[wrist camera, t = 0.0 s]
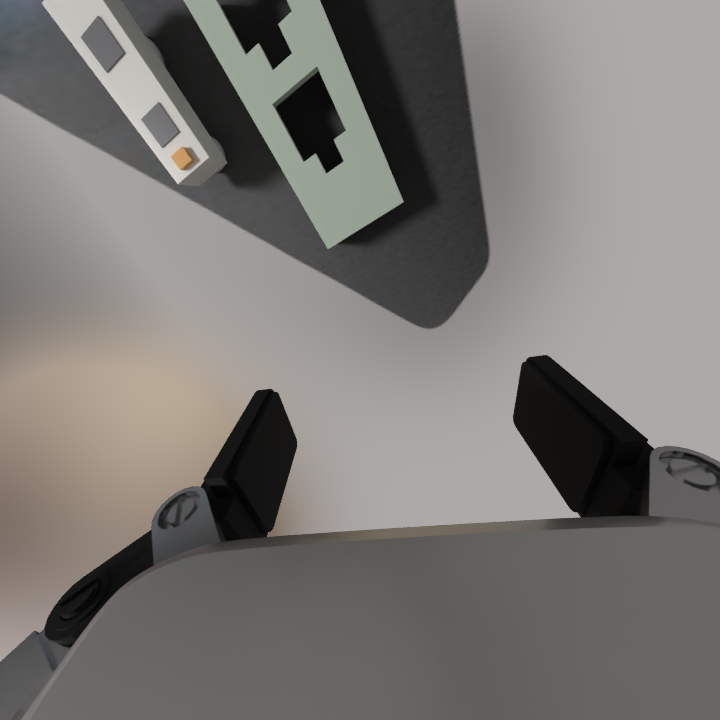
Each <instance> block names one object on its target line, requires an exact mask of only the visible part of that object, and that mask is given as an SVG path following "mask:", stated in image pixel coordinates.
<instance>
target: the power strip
mask: <svg viewBox="0 0 720 720" xmlns="http://www.w3.org/2000/svg"><path fill="white" fill-rule="evenodd" d="M42 4H43V6H44V7H45V8H46V10H47V11H48V12H49V14H50V15H51V16H52V18H53V19H54V20H55V22H56V23H57V24H58V26H59V27H60V28H61V30H62V31H63V32H64V34H65V35H66V36H67V38H68V39H69V40H70V42H71V43H72V44H73V46H74V47H75V48H76V49H77V51H78V52H79V53H80V55H81V56H82V57H83V59H84V60H85V61H86V63H87V64H88V65H89V67H90V68H91V69H92V71H93V72H94V73H95V75H96V76H97V77H98V79H99V80H100V81H101V83H102V84H103V85H104V87H105V88H106V89H107V91H108V92H109V93H110V95H111V96H112V97H113V99H114V100H115V101H116V103H117V104H118V105H119V107H120V108H121V109H122V111H123V112H124V113H125V115H126V116H127V117H128V119H129V120H130V121H131V123H132V124H133V125H134V127H135V128H136V129H137V131H138V132H139V133H140V135H141V136H142V137H143V139H144V140H145V141H146V142H147V144H148V145H149V146H150V148H151V149H152V150H153V152H154V153H155V154H156V156H157V157H158V158H159V160H160V161H161V162H162V164H163V165H164V166H165V168H166V169H167V170H168V172H169V173H170V174H171V176H172V177H173V178H174V180H175V181H176V182H177V184H182V185H191V186H200V185H201V184H202V183H204V182H205V181H206V180H207V179H208V178H210V177H211V176H212V175H213V174H215V173H219V172H220V171H222V170H223V168H224V166H225V164H227V163H228V162H227V161H226V156H225V152H224V149H223V147H222V146H221V144H220V143H219V142H218V141H217V140H216V139H215V138H213V137H211V136H210V135H209V133H208V132H207V130H206V129H205V127H204V126H203V124H202V123H201V121H200V120H199V118H198V117H197V115H196V114H195V112H194V111H193V109H192V107H191V106H190V104H189V103H188V101H187V100H186V98H185V97H184V95H183V94H182V92H181V91H180V89H179V88H178V86H177V85H176V83H175V81H174V80H173V78H172V77H171V75H170V74H169V72H168V71H167V69H166V66H165V61H164V58H163V55H162V53H161V52H160V50H159V48H158V47H157V46H156V45H155V43H153V42H152V41H151V40H150V39H148V38H147V37H146V36H144V34H143V33H142V31H141V29H140V28H139V26H138V25H137V23H136V22H135V20H134V19H133V17H132V16H131V14H130V13H129V11H128V10H127V8H126V7H125V5H124V3H123V2H122V0H44V1H43V3H42Z"/></svg>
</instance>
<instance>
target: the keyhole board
mask: <svg viewBox="0 0 720 720" xmlns="http://www.w3.org/2000/svg"><path fill="white" fill-rule="evenodd" d="M184 2H185V3H186V5H187V7H188V8H189V10H190V12H191V14H192V15H193V17H194V19H195V21H196V22H197V24H198V26H199V27H200V29H201V31H202V33H203V34H204V36H205V38H206V40H207V41H208V43H209V45H210V46H211V48H212V50H213V52H214V53H215V55H216V57H217V59H218V60H219V62H220V64H221V65H222V67H223V69H224V71H225V72H226V74H227V76H228V78H229V79H230V81H231V83H232V84H233V86H234V88H235V90H236V91H237V93H238V95H239V97H240V98H241V100H242V102H243V103H244V105H245V107H246V109H247V110H248V112H249V114H250V116H251V117H252V119H253V121H254V122H255V124H256V126H257V128H258V129H259V131H260V133H261V135H262V136H263V138H264V140H265V141H266V143H267V145H268V147H269V148H270V150H271V152H272V154H273V155H274V157H275V159H276V160H277V162H278V164H279V166H280V167H281V169H282V171H283V173H284V174H285V176H286V178H287V179H288V181H289V183H290V185H291V186H292V188H293V190H294V192H295V193H296V195H297V197H298V198H299V200H300V202H301V204H302V205H303V207H304V209H305V211H306V212H307V214H308V216H309V217H310V219H311V221H312V223H313V224H314V226H315V228H316V230H317V231H318V233H319V235H320V236H321V238H322V240H323V242H324V243H325V245H326V247H327V249H329V248H331V247H332V246H334V245H336V244H337V243H339V242H340V241H342V240H344V239H345V238H347V237H349V236H350V235H352V234H353V233H355V232H357V231H358V230H360V229H361V228H363V227H365V226H366V225H368V224H369V223H371V222H373V221H374V220H376V219H377V218H379V217H381V216H382V215H384V214H385V213H387V212H389V211H390V210H392V209H393V208H395V207H397V206H398V205H400V204H401V203H403V202H404V201H403V199H402V197H401V194H400V192H399V189H398V187H397V185H396V182H395V180H394V177H393V175H392V173H391V170H390V168H389V165H388V163H387V160H386V158H385V156H384V153H383V151H382V148H381V146H380V144H379V141H378V139H377V136H376V134H375V132H374V129H373V127H372V124H371V122H370V120H369V117H368V115H367V112H366V110H365V107H364V105H363V103H362V100H361V98H360V95H359V93H358V91H357V88H356V86H355V83H354V81H353V79H352V76H351V74H350V71H349V69H348V67H347V64H346V62H345V59H344V57H343V54H342V52H341V50H340V47H339V45H338V42H337V40H336V38H335V35H334V33H333V30H332V28H331V26H330V23H329V21H328V18H327V16H326V14H325V11H324V9H323V6H322V4H321V1H320V0H287V2H288V4H289V7H290V9H291V11H292V12H291V13H289V14H288V15H287V16H286V17H285V18H284V19H283V20H282V21H281V22H280V23H279V24H278V25H279V27H280V29H281V31H282V33H283V36H284V38H285V40H286V42H287V44H288V46H289V48H290V50H291V52H292V54H291V55H289V56H288V57H287V58H286V59H285V60H284V61H283V62H282V63H280V64H279V65H278V66H277V67H276V68H275V69H274V70H273V68H272V66H271V64H270V62H269V60H268V58H267V56H266V55H265V53H264V51H263V49H262V47H261V46H260V44H259V43H258V44H257V45H256V46H255V47H254V48H253V49H252V50H250V51H249V52H248V53H247V54H246V52H245V50H244V48H243V46H242V44H241V42H240V41H239V39H238V37H237V35H236V33H235V31H234V29H233V28H232V26H231V24H230V22H229V20H228V18H227V16H226V15H225V13H224V11H223V9H222V7H221V5H220V3H219V2H218V0H184ZM318 71H319V72H320V75H321V77H322V79H323V81H324V83H325V86H326V88H327V90H328V92H329V94H330V97H331V99H332V101H333V103H334V105H335V108H336V110H337V112H338V114H339V116H340V119H341V121H342V123H343V125H344V127H345V130H346V131H345V132H343V133H342V134H341V135H339V136H338V137H337V138H335V139H334V142H335V144H336V146H337V148H338V150H339V152H340V154H341V157H342V159H343V162H342V163H341V164H339V165H338V166H336V167H335V168H334V169H332V170H331V171H329V172H328V173H326V171H325V169H324V167H323V165H322V163H321V161H320V160H319V158H318V156H317V154H316V153H315V154H314V155H313V156H311V157H310V158H309V159H307V160H306V161H304V160H303V158H302V156H301V154H300V152H299V150H298V148H297V147H296V145H295V143H294V141H293V139H292V137H291V135H290V134H289V132H288V130H287V128H286V126H285V124H284V122H283V121H282V119H281V117H280V115H279V113H278V111H277V109H276V108H275V107H277V106H278V105H279V104H280V103H281V102H282V101H284V100H285V99H286V98H287V97H288V96H290V95H291V94H292V93H293V92H294V91H295V90H297V89H298V88H299V87H300V86H301V85H303V84H304V83H305V82H306V81H307V80H308V79H310V78H311V77H312V76H313V75H314V74H316V73H317V72H318Z"/></svg>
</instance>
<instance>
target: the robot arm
mask: <svg viewBox="0 0 720 720" xmlns="http://www.w3.org/2000/svg"><path fill="white" fill-rule="evenodd" d="M513 420H514V424H515V426H516V428H517V430H518V431H519V432H520V434H521V436H522V437H523V438H524V440H525V442H526V443H527V445H528V446H529V448H530V449H531V451H532V452H533V454H534V455H535V456H536V458H537V460H538V461H539V463H540V464H541V466H542V467H543V469H544V470H545V471H546V473H547V474H548V476H549V478H550V479H551V481H552V482H553V484H554V485H555V487H556V488H557V490H558V491H559V493H560V494H561V496H562V497H563V499H564V500H565V502H566V503H567V505H568V506H569V508H570V509H571V510H572V511H573V512H578V514H579V515H580V517H581V518H560V519H542V520H525V521H508V522H490V523H472V524H456V525H439V526H423V527H407V528H391V529H376V530H362V531H361V530H360V531H347V532H332V533H331V532H330V533H316V534H301V535H288V536H276V537H267V534H268V532H271V531H272V529H273V527H274V524H275V520H276V517H277V514H278V510H279V506H280V503H281V500H282V496H283V493H284V489H285V486H286V483H287V479H288V476H289V473H290V469H291V466H292V462H293V459H294V455H295V452H296V449H297V439H296V437H295V434H294V432H293V429H292V427H291V424H290V421H289V419H288V416H287V414H286V412H285V409H284V406H283V404H282V401H281V399H280V396H279V394H278V393H277V392H274V391H273V390H272V389H266V390H258V391H256V392H255V394H254V396H253V397H252V399H251V401H250V402H249V404H248V406H247V407H246V409H245V411H244V412H243V414H242V416H241V417H240V419H239V421H238V422H237V424H236V426H235V427H234V429H233V431H232V432H231V434H230V436H229V437H228V439H227V441H226V442H225V444H224V446H223V448H222V449H221V451H220V453H219V454H218V456H217V458H216V459H215V461H214V462H213V464H212V466H211V467H210V469H209V471H208V472H207V474H206V476H205V478H204V482H203V484H202V486H201V487H189V488H185V489H183V490H181V491H179V492H177V493H175V494H174V495H173V496H171V497H170V498H169V499H168V500H166V501H165V502H164V503H163V504H162V505H161V507H160V508H159V509H158V511H157V512H156V514H155V516H154V518H153V520H152V526H151V528H152V529H151V530H150V531H149V532H147V533H146V534H145V535H143V536H142V537H140V538H139V539H137V540H136V541H135V542H133V543H132V544H130V545H129V546H127V547H126V548H124V549H123V550H122V551H120V552H119V553H118V554H116V555H114V556H113V557H112V558H110V559H109V560H107V561H106V562H104V563H103V564H101V565H100V566H99V567H97V568H96V569H94V570H93V571H91V572H90V573H89V574H87V575H86V576H84V577H83V578H82V579H80V580H79V581H78V582H77V583H75V584H74V585H73V586H72V587H71V588H70V589H69V590H68V591H67V592H66V593H65V594H64V595H63V596H62V597H61V599H60V600H59V601H58V603H57V604H56V605H55V606H54V608H53V610H52V611H51V613H50V615H49V617H48V619H47V622H46V625H45V628H44V630H42V632H40V633H39V632H37V631H34V632H33V633H31V634H30V635H29V636H28V637H27V638H26V639H25V640H24V641H23V642H22V643H20V644H19V645H18V646H17V647H16V648H15V649H14V650H13V651H12V652H11V653H10V654H9V655H7V656H6V657H5V658H4V659H3V660H2V661H1V662H0V720H720V462H719V461H717V460H715V459H713V458H711V457H709V456H707V455H704V454H702V453H699V452H696V451H693V450H690V449H686V448H681V447H674V446H664V447H658V448H656V449H654V448H653V447H651V446H650V445H649V444H648V443H647V441H648V439H647V438H646V437H644V436H643V435H642V434H641V433H640V432H638V431H637V430H636V429H635V428H634V427H632V426H631V425H630V424H629V423H627V421H625V420H624V419H623V418H622V417H621V416H619V415H618V414H617V413H616V412H615V411H613V410H612V409H611V408H610V407H609V406H607V405H606V404H605V403H604V402H603V401H602V400H600V399H599V398H598V397H597V396H596V395H594V394H593V393H592V392H591V391H590V390H588V389H587V388H586V387H585V386H584V385H583V384H581V383H580V382H579V381H578V380H577V379H575V378H574V377H573V376H572V375H571V374H569V373H568V372H567V371H566V370H565V369H563V368H562V367H561V366H560V365H559V364H558V363H556V362H555V361H554V360H553V359H552V358H550V357H549V356H547V355H543V356H535V357H529V358H528V359H527V360H526V362H523V363H522V366H521V372H520V378H519V384H518V390H517V396H516V403H515V409H514V415H513Z"/></svg>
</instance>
